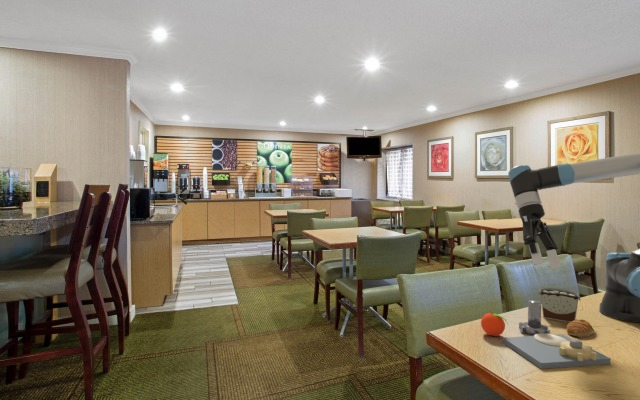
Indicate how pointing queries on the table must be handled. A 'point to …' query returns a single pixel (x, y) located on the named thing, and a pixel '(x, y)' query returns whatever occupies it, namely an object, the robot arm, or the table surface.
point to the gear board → (555, 351)
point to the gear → (533, 320)
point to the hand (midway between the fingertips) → (548, 266)
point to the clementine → (493, 324)
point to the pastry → (580, 328)
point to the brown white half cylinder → (559, 304)
